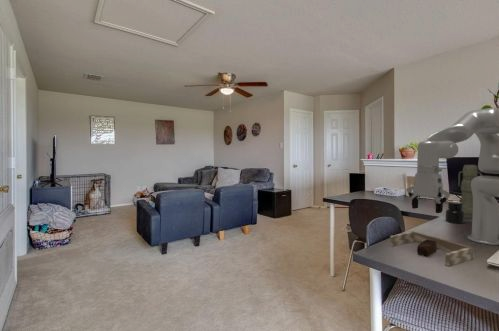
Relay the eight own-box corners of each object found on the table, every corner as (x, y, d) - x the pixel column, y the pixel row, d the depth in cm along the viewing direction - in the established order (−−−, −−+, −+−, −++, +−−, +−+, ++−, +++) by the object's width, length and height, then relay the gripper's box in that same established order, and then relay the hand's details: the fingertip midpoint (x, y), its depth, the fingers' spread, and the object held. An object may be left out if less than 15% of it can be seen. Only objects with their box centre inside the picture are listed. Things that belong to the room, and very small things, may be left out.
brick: (426, 249, 116) (426, 238, 115) (436, 251, 112) (436, 241, 112) (416, 255, 109) (416, 244, 109) (427, 258, 106) (427, 246, 106)
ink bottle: (459, 220, 163) (459, 201, 163) (468, 224, 155) (468, 204, 154) (441, 219, 165) (442, 201, 164) (450, 223, 156) (450, 203, 156)
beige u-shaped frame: (413, 240, 127) (413, 231, 126) (473, 258, 105) (473, 247, 104) (389, 245, 120) (390, 236, 120) (448, 266, 98) (448, 254, 97)
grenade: (482, 219, 165) (484, 164, 163) (458, 217, 171) (460, 164, 169) (478, 216, 172) (480, 164, 171) (456, 214, 179) (457, 164, 177)
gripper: (456, 171, 103) (454, 213, 104) (413, 169, 119) (412, 205, 120) (444, 172, 100) (443, 215, 101) (402, 169, 116) (401, 207, 116)
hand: (426, 210), depth 110 cm, fingers open, 9 cm apart
